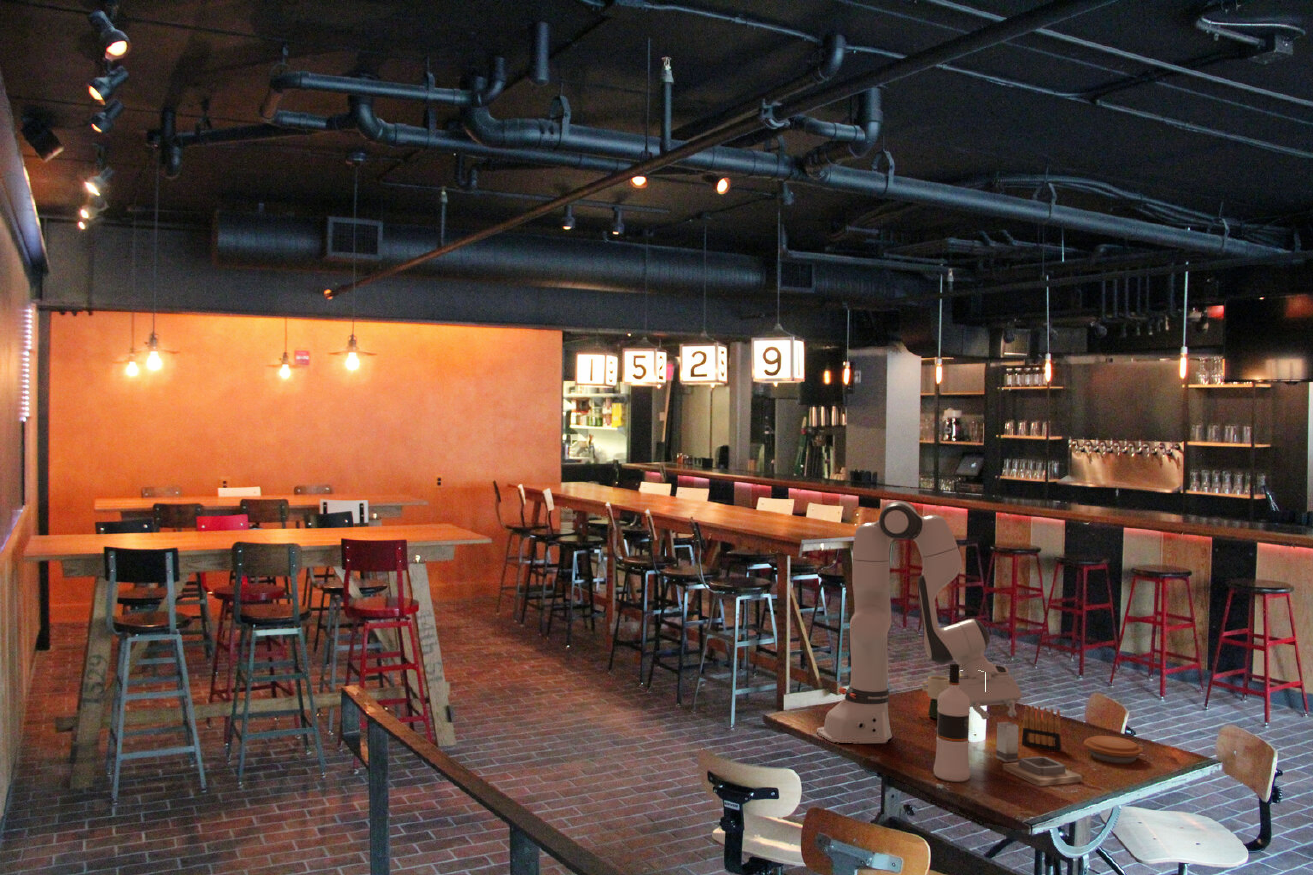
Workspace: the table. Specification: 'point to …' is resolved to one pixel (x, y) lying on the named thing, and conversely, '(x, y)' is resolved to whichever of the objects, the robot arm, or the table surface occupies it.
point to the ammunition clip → (1042, 730)
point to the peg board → (1042, 771)
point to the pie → (1113, 749)
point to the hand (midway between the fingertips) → (1000, 716)
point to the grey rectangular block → (1007, 741)
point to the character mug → (935, 692)
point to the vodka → (952, 731)
